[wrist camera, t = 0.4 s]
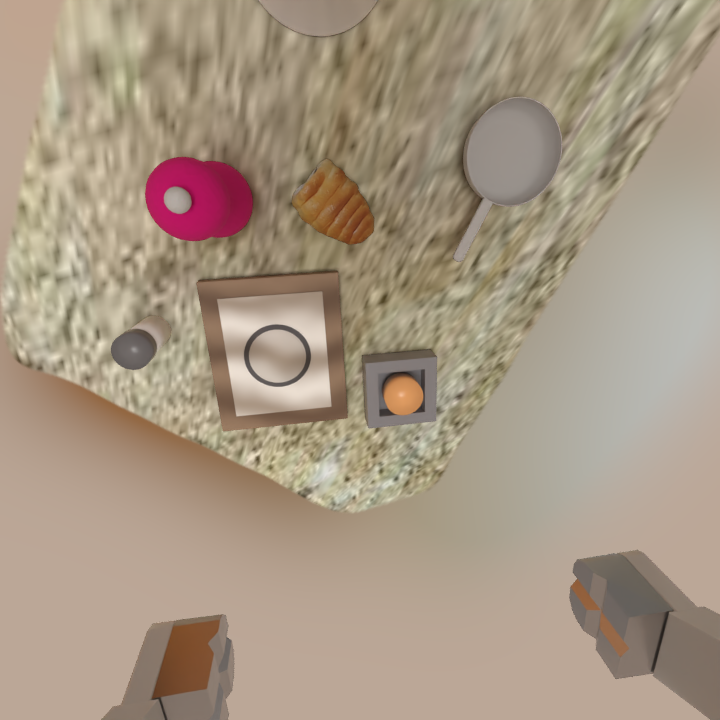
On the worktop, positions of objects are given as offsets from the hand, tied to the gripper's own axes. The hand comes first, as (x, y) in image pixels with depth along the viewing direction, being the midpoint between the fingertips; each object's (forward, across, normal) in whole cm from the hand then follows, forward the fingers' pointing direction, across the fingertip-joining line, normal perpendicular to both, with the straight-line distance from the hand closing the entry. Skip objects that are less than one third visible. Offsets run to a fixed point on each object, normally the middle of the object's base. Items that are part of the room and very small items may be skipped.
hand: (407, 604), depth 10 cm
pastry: (+46, -2, -8) cm, 47 cm away
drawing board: (+45, +6, +9) cm, 46 cm away
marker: (+45, +20, +5) cm, 50 cm away
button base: (+45, -9, +15) cm, 48 cm away
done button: (+43, -9, +15) cm, 47 cm away
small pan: (+46, -20, -9) cm, 51 cm away
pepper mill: (+46, +10, -9) cm, 48 cm away
